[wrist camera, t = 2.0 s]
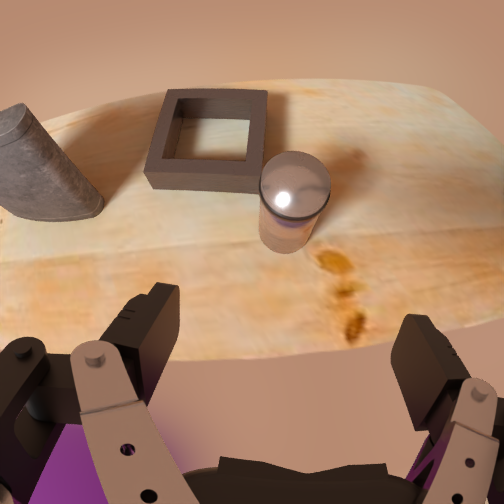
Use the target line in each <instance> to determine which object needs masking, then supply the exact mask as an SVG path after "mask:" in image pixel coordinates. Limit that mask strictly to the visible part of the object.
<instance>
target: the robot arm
mask: <svg viewBox="0 0 504 504" xmlns="http://www.w3.org/2000/svg"><path fill="white" fill-rule="evenodd" d="M179 326H180V292H179V286H178V285H172V284H165V283H159V282H157V283H156V284H155V285H154V286H153V288H152V289H151V291H150V292H149V293H148V295H145V294H139V295H137V296H136V297H134V298H132V299H130V300H129V301H128V302H127V304H126V305H125V306H124V308H123V310H121V311H120V313H119V314H118V315H117V317H116V318H115V319H114V320H113V322H112V323H111V324H110V326H109V327H108V328H107V330H106V331H105V332H104V333H103V335H102V336H101V337H100V339H99V340H94V341H88V342H85V343H82V344H80V345H79V346H77V347H76V348H75V349H74V350H73V352H72V353H71V354H50V353H47V352H46V348H45V345H44V344H43V342H42V341H41V340H39V339H37V338H34V337H22V338H18V339H16V340H14V341H12V342H10V343H9V344H8V345H7V346H6V347H5V348H4V349H3V351H2V352H1V353H0V504H28V502H29V500H30V497H31V496H32V493H33V491H34V489H35V487H36V484H37V482H38V480H39V478H40V475H41V473H42V471H43V469H44V467H45V465H46V463H47V461H48V459H49V457H50V455H51V452H52V451H53V449H54V447H55V444H56V443H57V441H58V439H59V437H60V435H61V433H62V431H63V429H64V427H65V425H66V424H79V425H83V428H84V432H85V436H86V439H87V443H88V446H89V449H90V452H91V455H92V459H93V462H94V464H95V468H96V471H97V474H98V476H99V479H100V482H101V485H102V488H103V490H104V493H105V495H106V498H107V500H108V503H109V504H485V501H486V497H487V499H488V503H489V504H504V398H499V397H497V393H496V391H495V390H494V388H493V387H492V386H491V385H490V384H489V383H487V382H486V381H484V380H481V379H478V378H472V377H471V376H470V374H469V372H468V371H467V369H466V367H465V366H464V364H463V363H462V361H461V359H460V358H459V356H457V353H456V351H455V350H454V348H452V345H451V344H450V342H449V340H448V339H447V337H446V336H444V335H443V334H442V333H441V332H440V331H439V330H437V329H436V328H435V326H434V325H433V323H432V322H431V320H430V319H429V317H428V316H427V315H417V314H407V315H406V316H405V318H404V320H403V323H402V325H401V328H400V330H399V333H398V336H397V338H396V341H395V343H394V346H393V348H392V352H391V365H392V368H393V370H394V373H395V376H396V378H397V381H398V383H399V386H400V389H401V392H402V394H403V397H404V400H405V403H406V406H407V408H408V411H409V415H410V417H411V420H412V423H413V426H414V429H415V431H424V430H428V431H429V433H430V434H429V435H428V436H427V438H426V439H425V441H424V443H423V445H422V447H421V449H420V451H419V453H418V455H417V457H416V459H415V461H414V463H413V466H412V467H411V469H410V471H409V473H408V475H407V476H406V478H405V479H403V478H400V477H397V476H393V475H389V474H388V471H387V467H386V464H385V463H383V464H366V465H347V466H343V467H339V468H334V469H330V470H325V471H321V472H316V473H310V474H308V473H307V474H306V473H301V472H297V471H294V470H290V469H286V468H283V467H279V466H276V465H272V464H269V463H265V462H260V461H251V460H243V459H235V458H228V457H222V456H221V457H220V460H219V465H218V467H213V468H204V469H198V470H194V471H189V472H187V473H184V474H181V472H180V470H179V469H178V467H177V465H176V464H175V462H174V460H173V458H172V456H171V454H170V453H169V451H168V449H167V447H166V445H165V443H164V441H163V439H162V437H161V436H160V434H159V432H158V430H157V428H156V426H155V424H154V422H153V420H152V418H151V415H150V413H149V411H148V409H147V406H148V404H149V401H150V399H151V397H152V395H153V392H154V390H155V388H156V385H157V383H158V381H159V379H160V376H161V374H162V372H163V370H164V367H165V365H166V363H167V361H168V358H169V356H170V354H171V352H172V350H173V347H174V345H175V343H176V341H177V338H178V333H179ZM23 407H24V408H23ZM21 410H22V411H21ZM19 413H20V414H19ZM17 416H18V417H17ZM16 418H17V419H16Z"/></svg>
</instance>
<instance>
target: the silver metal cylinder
mask: <svg viewBox="0 0 504 504" xmlns="http://www.w3.org/2000/svg"><path fill="white" fill-rule="evenodd" d="M330 189H331V179H330V175H329V173H328V171H327V169H326V167H325V166H324V165H323V164H322V163H321V162H320V161H319V160H318V159H317V158H315V157H314V156H312V155H310V154H307V153H304V152H299V151H287V152H283V153H280V154H278V155H276V156H274V157H272V158H271V159H270V160H269V161H268V162H267V163H266V165H265V166H264V168H263V171H262V174H261V176H260V179H259V196H260V215H259V234H260V238H261V240H262V241H263V243H264V244H265V245H266V246H267V247H268V248H269V249H270V250H272V251H274V252H277V253H281V254H289V253H293V252H296V251H298V250H299V249H301V248H302V247H303V246H304V245H305V243H306V242H307V240H308V238H309V236H310V234H311V231H312V229H313V227H314V225H315V223H316V221H317V219H318V217H319V215H320V213H321V212H322V211H323V210H324V208H325V206H326V205H327V202H328V200H329V197H330Z"/></svg>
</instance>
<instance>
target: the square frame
mask: <svg viewBox="0 0 504 504" xmlns="http://www.w3.org/2000/svg"><path fill="white" fill-rule="evenodd" d="M266 111H267V91H266V90H247V89H168V90H167V93H166V96H165V99H164V102H163V106H162V109H161V112H160V115H159V118H158V122H157V125H156V128H155V132H154V135H153V139H152V142H151V146H150V149H149V153H148V157H147V160H146V164H145V168H144V174H145V176H146V177H147V179H148V181H149V183H150V184H151V186H152V188H153V189H166V190H193V191H214V192H233V193H249V194H259V179H260V176H261V174H262V166H263V152H264V139H265V125H266ZM183 118H214V119H244V120H250V126H249V135H248V144H247V154H246V161H227V160H200V159H174V154H175V150H176V146H177V142H178V137H179V133H180V129H181V125H182V121H183Z"/></svg>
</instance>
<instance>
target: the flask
mask: <svg viewBox="0 0 504 504" xmlns="http://www.w3.org/2000/svg"><path fill="white" fill-rule="evenodd" d="M0 205H1V206H2V207H3V208H5V209H6V210H8V211H9V212H11V213H12V214H14V215H15V216H18V217H21V218H24V219H29V220H35V221H46V222H64V221H76V220H83V219H88V218H93V217H95V216H97V215H98V214H99V213H100V212H101V211H102V209H103V207H104V199H103V197H102V196H101V195H100V194H99V193H98V191H97V190H96V189H95V188H94V187H93V186H92V185H91V184H90V182H89V181H88V180H87V179H86V178H85V177H84V176H83V174H82V173H81V172H80V171H79V170H78V169H77V167H76V166H75V165H74V164H73V163H72V162H71V160H70V159H69V158H68V157H67V156H66V154H65V153H64V152H63V151H62V150H61V149H60V147H59V146H58V145H57V144H56V142H55V141H54V140H53V139H52V138H51V136H50V135H49V134H48V133H47V131H46V130H45V129H44V128H43V127H42V125H41V124H40V123H39V122H38V120H37V119H36V118H35V116H34V115H33V114H32V113H31V111H30V110H29V109H28V108H27V106H26V105H25V104H24V103H20V104H16V105H14V106H12V107H9V108H8V109H5V110H3V111H0Z"/></svg>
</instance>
